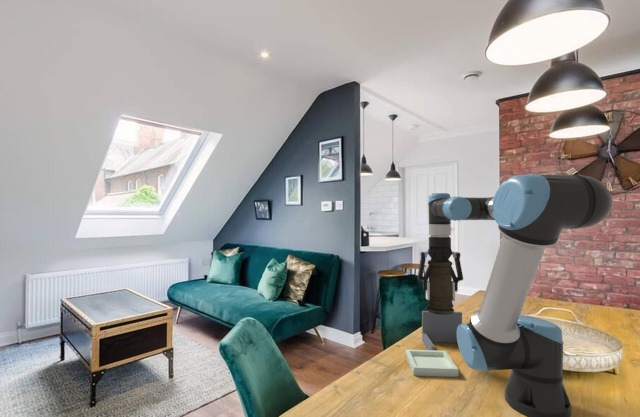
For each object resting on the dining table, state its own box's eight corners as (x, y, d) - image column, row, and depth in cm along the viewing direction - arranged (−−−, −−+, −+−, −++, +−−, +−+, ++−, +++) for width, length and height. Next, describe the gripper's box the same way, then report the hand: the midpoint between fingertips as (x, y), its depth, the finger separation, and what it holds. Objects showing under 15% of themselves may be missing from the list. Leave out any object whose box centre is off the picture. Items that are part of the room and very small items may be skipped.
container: (455, 316, 114) (455, 263, 115) (428, 314, 116) (428, 262, 117) (451, 308, 123) (451, 260, 123) (426, 307, 125) (426, 259, 126)
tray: (458, 377, 106) (458, 369, 106) (413, 375, 107) (413, 367, 107) (445, 357, 120) (445, 350, 120) (405, 356, 121) (405, 349, 121)
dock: (475, 357, 120) (475, 324, 120) (431, 356, 121) (431, 322, 121) (461, 341, 135) (460, 311, 135) (422, 340, 136) (422, 310, 136)
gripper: (466, 235, 123) (467, 297, 122) (408, 235, 125) (408, 296, 125) (473, 237, 115) (474, 303, 115) (411, 236, 118) (412, 301, 117)
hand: (440, 299), depth 120 cm, fingers closed on container, 8 cm apart
